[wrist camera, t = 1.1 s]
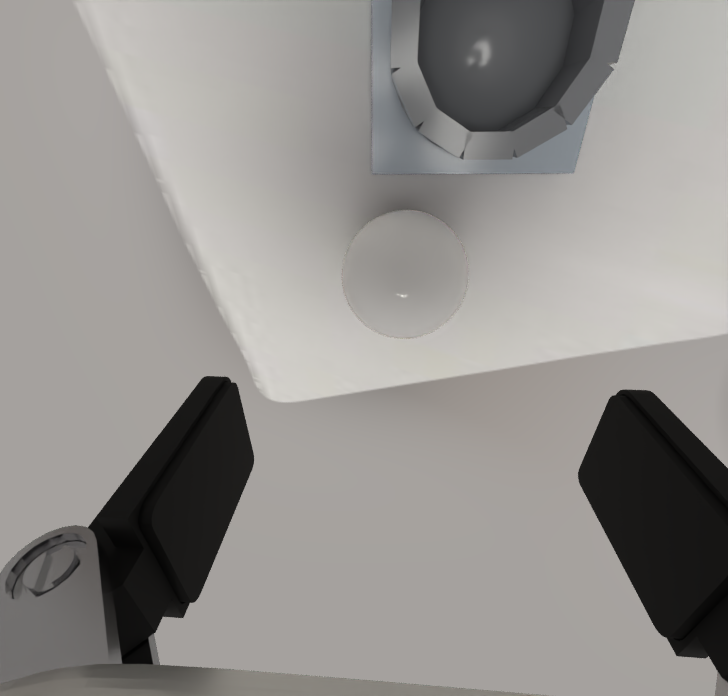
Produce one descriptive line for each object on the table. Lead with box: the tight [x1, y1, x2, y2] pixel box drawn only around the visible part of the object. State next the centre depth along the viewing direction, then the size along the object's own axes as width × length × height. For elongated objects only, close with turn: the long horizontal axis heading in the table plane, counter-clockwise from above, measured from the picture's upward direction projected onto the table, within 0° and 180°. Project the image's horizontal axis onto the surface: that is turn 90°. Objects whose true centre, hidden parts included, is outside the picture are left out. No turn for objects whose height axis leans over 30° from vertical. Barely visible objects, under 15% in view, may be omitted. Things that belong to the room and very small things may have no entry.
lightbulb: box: [342, 210, 469, 339], centre depth 21 cm, size 6×6×11 cm
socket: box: [372, 0, 635, 174], centre depth 18 cm, size 12×12×5 cm
